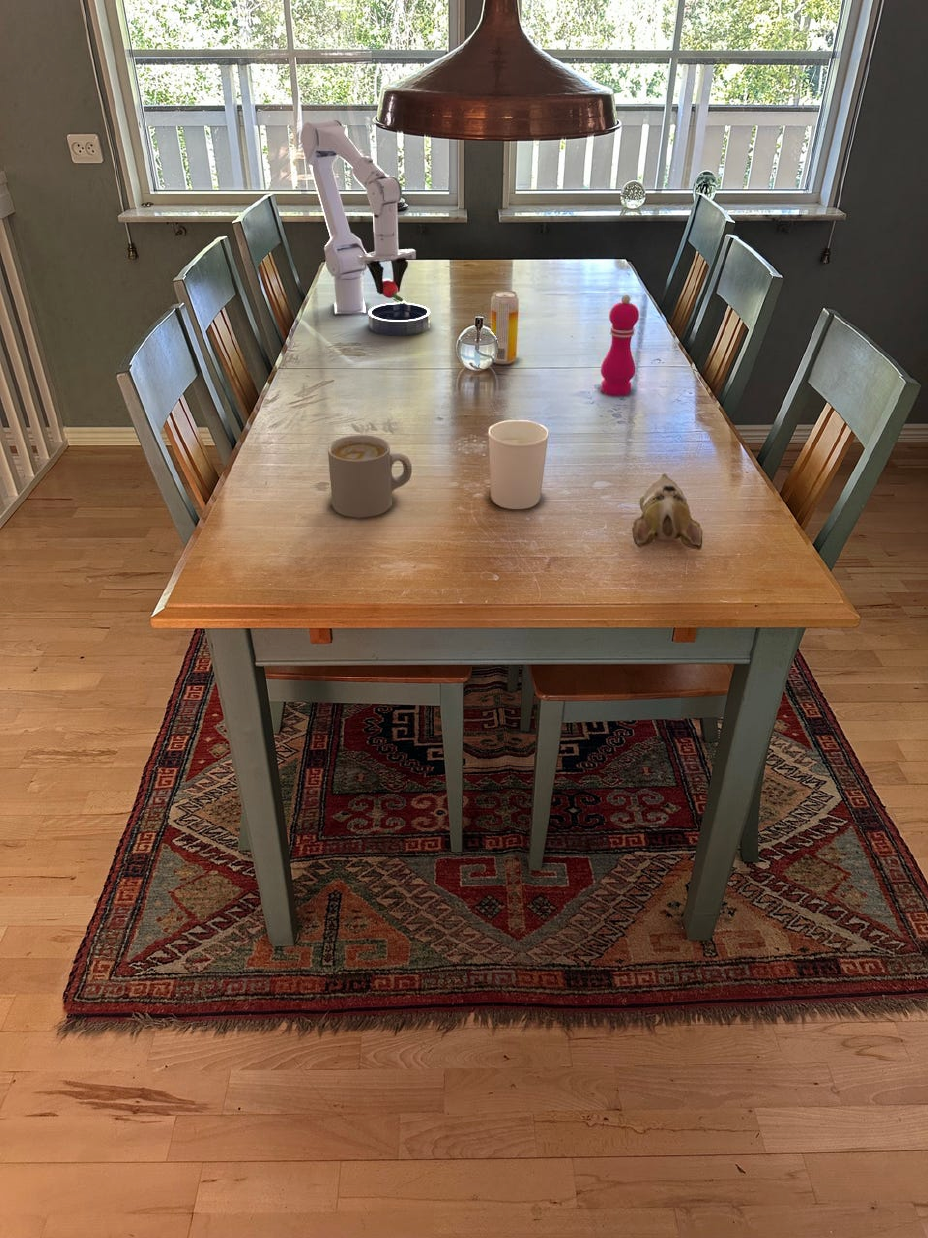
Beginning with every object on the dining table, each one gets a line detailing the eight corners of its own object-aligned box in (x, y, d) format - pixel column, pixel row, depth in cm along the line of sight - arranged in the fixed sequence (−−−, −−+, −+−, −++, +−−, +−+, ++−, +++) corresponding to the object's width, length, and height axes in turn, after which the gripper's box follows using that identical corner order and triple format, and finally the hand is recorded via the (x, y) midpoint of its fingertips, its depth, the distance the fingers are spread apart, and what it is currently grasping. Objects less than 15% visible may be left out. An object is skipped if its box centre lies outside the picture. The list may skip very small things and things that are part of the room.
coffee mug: (331, 518, 145) (326, 462, 139) (333, 490, 153) (328, 435, 147) (414, 515, 146) (413, 459, 140) (411, 487, 154) (409, 433, 148)
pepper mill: (631, 398, 188) (643, 301, 176) (597, 395, 189) (607, 298, 178) (633, 385, 194) (645, 291, 182) (600, 383, 195) (609, 288, 183)
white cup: (509, 479, 157) (512, 414, 150) (555, 496, 152) (560, 430, 145) (474, 499, 150) (475, 432, 144) (521, 518, 145) (525, 449, 139)
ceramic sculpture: (699, 465, 142) (712, 516, 130) (691, 512, 147) (702, 564, 136) (632, 462, 142) (638, 513, 131) (626, 509, 148) (631, 561, 136)
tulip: (376, 294, 223) (375, 277, 221) (391, 292, 225) (390, 275, 222) (394, 306, 215) (393, 289, 213) (409, 304, 217) (409, 287, 215)
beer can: (516, 356, 208) (519, 290, 200) (515, 365, 203) (518, 298, 195) (490, 355, 209) (492, 289, 200) (488, 364, 204) (490, 297, 195)
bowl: (368, 319, 230) (367, 303, 228) (427, 317, 232) (426, 302, 229) (370, 338, 218) (370, 322, 215) (432, 336, 219) (432, 320, 217)
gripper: (364, 240, 208) (367, 299, 216) (420, 233, 213) (421, 292, 221) (352, 233, 213) (356, 292, 221) (408, 227, 218) (409, 285, 226)
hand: (388, 291), depth 221 cm, fingers closed on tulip, 4 cm apart
